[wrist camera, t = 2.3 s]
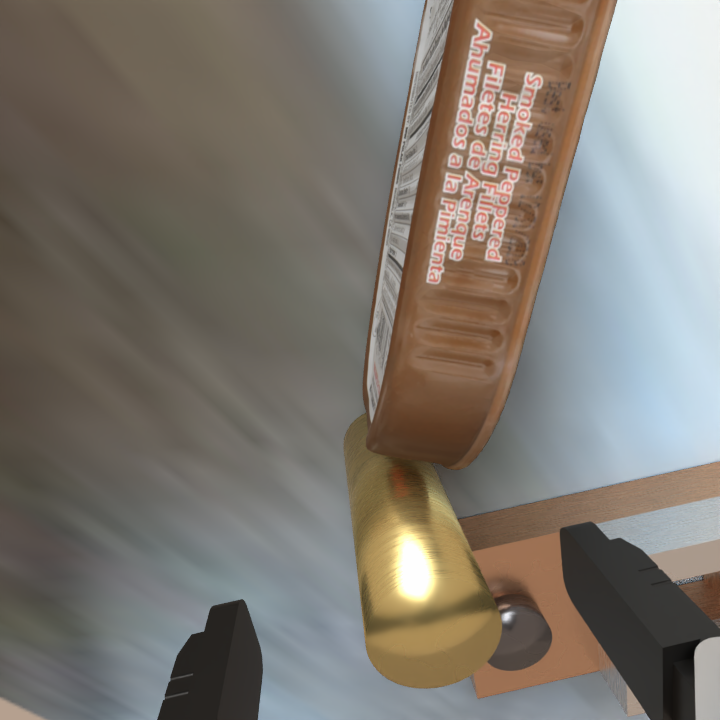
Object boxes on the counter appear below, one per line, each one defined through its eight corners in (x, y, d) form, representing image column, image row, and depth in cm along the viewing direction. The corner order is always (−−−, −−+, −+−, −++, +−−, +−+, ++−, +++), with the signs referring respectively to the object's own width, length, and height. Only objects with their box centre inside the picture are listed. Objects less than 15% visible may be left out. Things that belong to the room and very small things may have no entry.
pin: (336, 418, 19) (353, 597, 10) (412, 401, 19) (494, 565, 10) (352, 485, 20) (379, 701, 11) (424, 469, 20) (508, 671, 11)
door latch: (441, 523, 20) (479, 618, 16) (859, 430, 21) (1020, 496, 16) (464, 657, 23) (503, 776, 18) (839, 571, 23) (975, 665, 18)
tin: (421, 401, 19) (498, 544, 11) (340, 391, 18) (359, 532, 10) (520, -62, 15) (769, -393, 7) (418, -88, 14) (551, -475, 6)
